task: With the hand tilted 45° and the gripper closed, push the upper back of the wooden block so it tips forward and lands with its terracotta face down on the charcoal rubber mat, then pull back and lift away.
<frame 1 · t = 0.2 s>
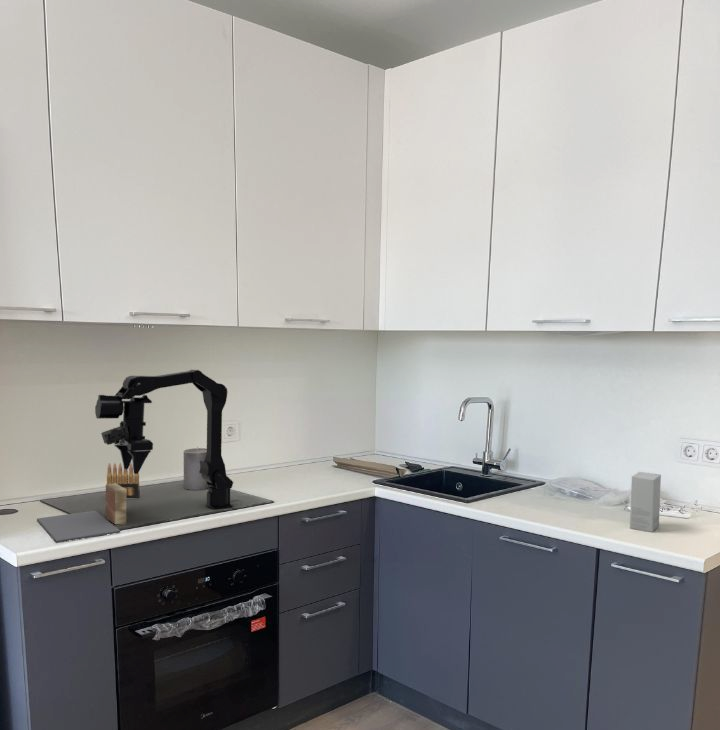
hand: (130, 471, 184), 14 cm above the worktop, tool pointing down, fingers open, 9 cm apart
ammunition clip: (122, 499, 210), on the worktop
rubber mat: (77, 526, 176), on the worktop
pillar candle: (196, 488, 228), on the worktop
wooden block: (115, 521, 182), on the worktop
skincare box: (645, 528, 182), on the worktop
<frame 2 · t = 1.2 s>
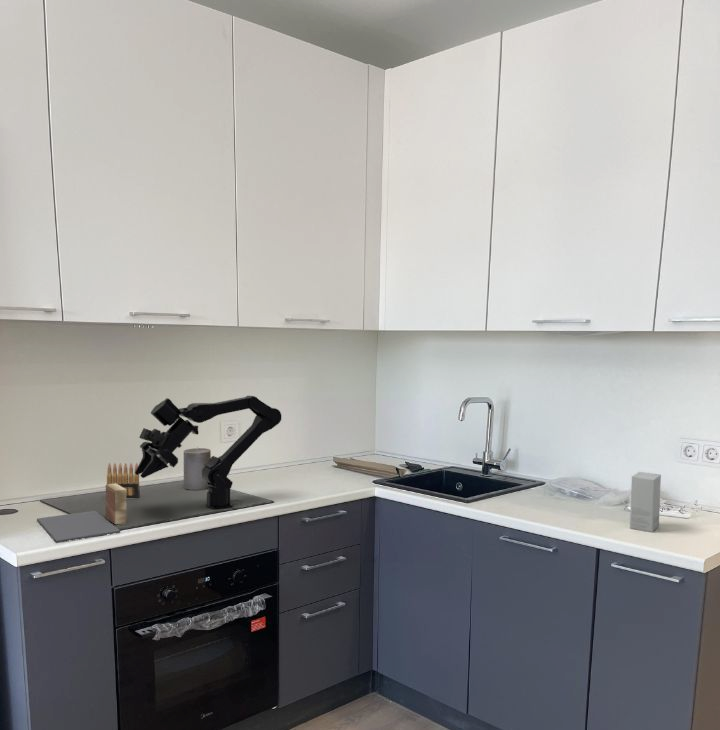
hand: (138, 475, 186), 13 cm above the worktop, tool tilted 45°, fingers open, 5 cm apart
nothing on the worktop moved.
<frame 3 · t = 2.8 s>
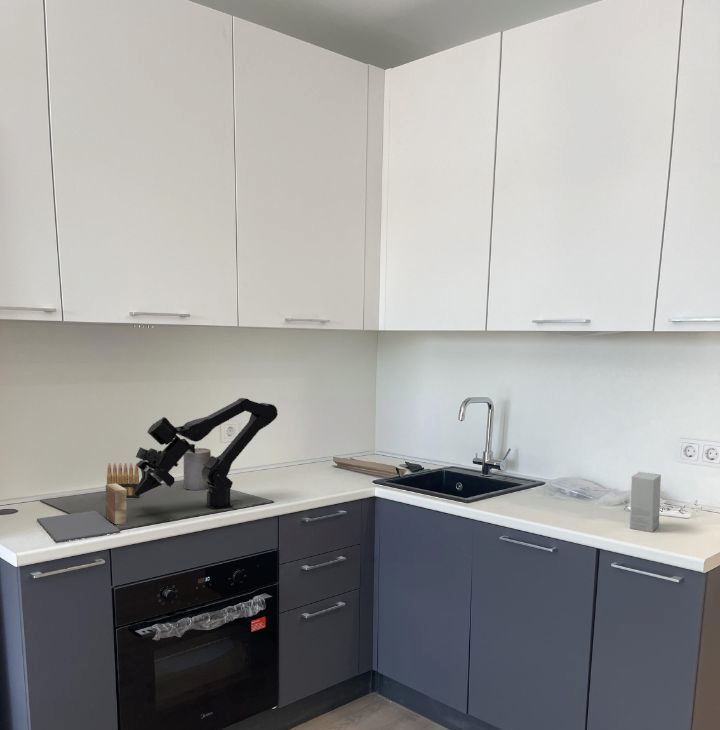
hand: (135, 495, 185), 7 cm above the worktop, tool tilted 45°, fingers closed
nothing on the worktop moved.
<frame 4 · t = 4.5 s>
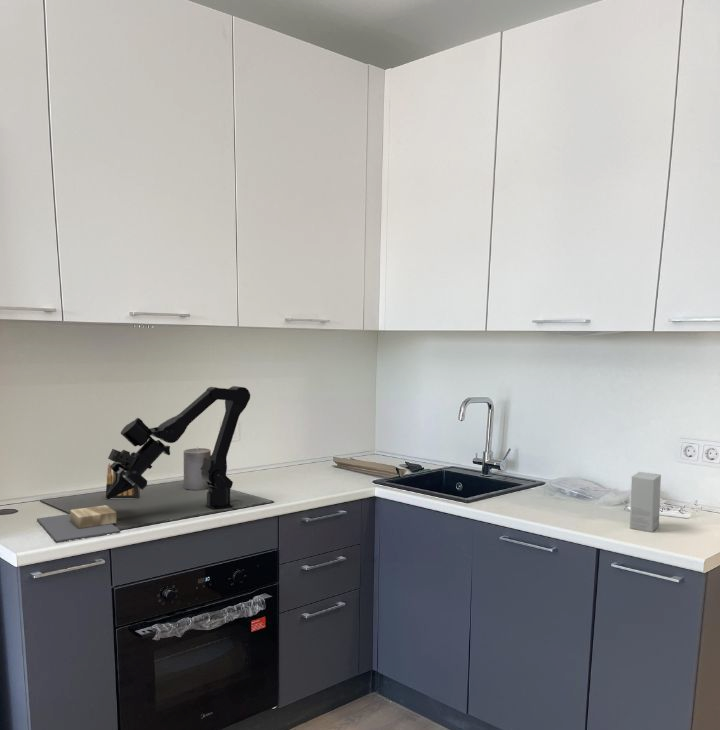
hand: (106, 497, 180), 7 cm above the worktop, tool tilted 45°, fingers closed
wooden block: (111, 513, 181), point 2 cm above the worktop, tilted 90°, touching rubber mat
everything else where it was.
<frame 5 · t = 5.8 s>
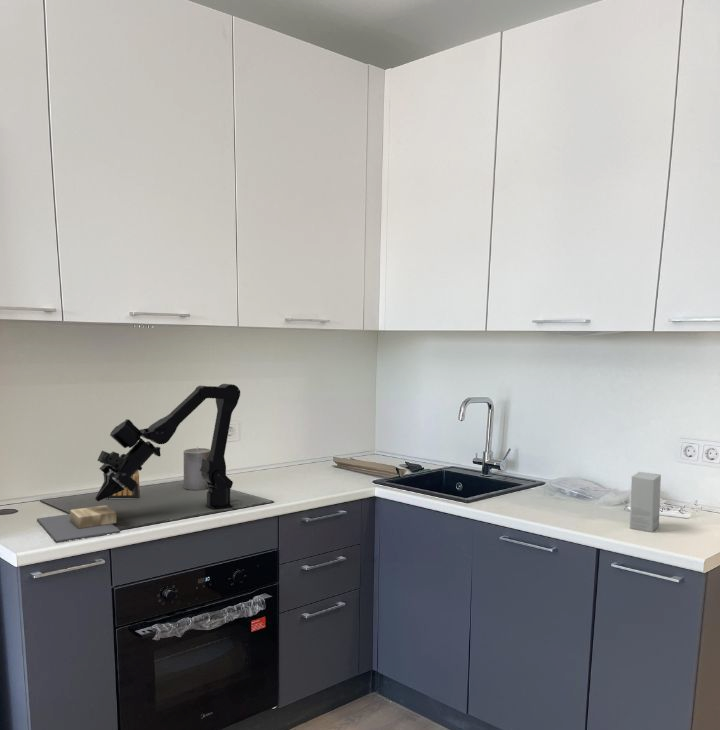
hand: (96, 500, 179), 7 cm above the worktop, tool tilted 45°, fingers closed
nothing on the worktop moved.
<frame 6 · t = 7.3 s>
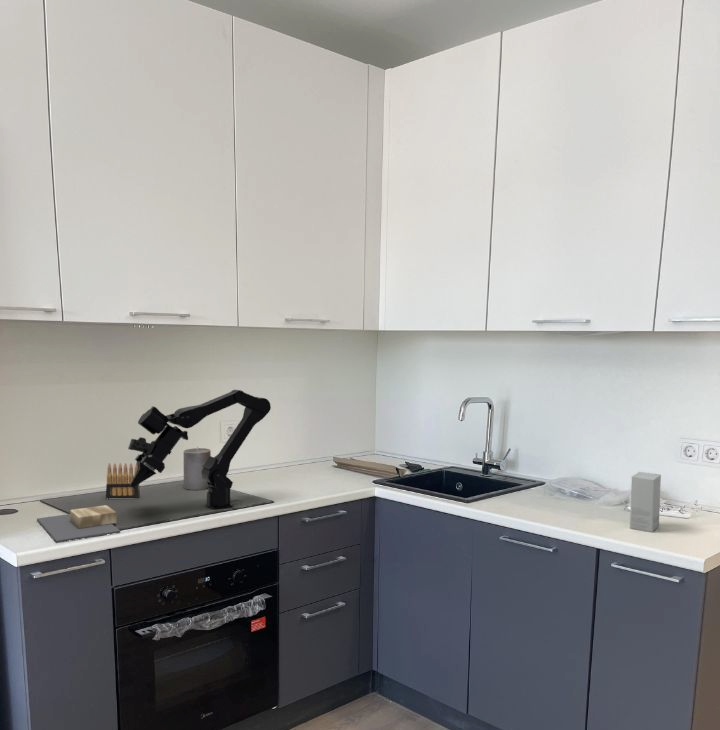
hand: (131, 486, 185), 9 cm above the worktop, tool tilted 40°, fingers closed
nothing on the worktop moved.
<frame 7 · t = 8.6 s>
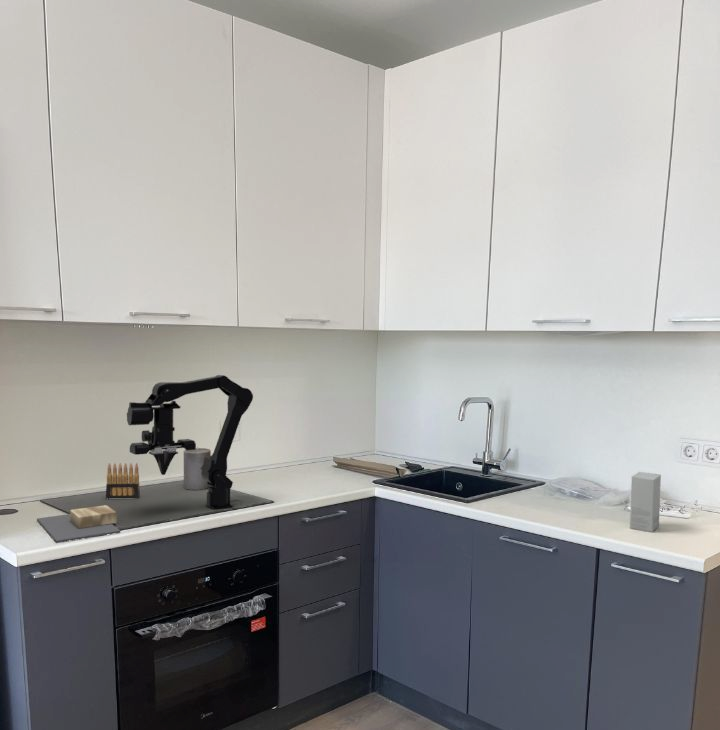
hand: (163, 474, 190), 12 cm above the worktop, tool pointing down, fingers closed
nothing on the worktop moved.
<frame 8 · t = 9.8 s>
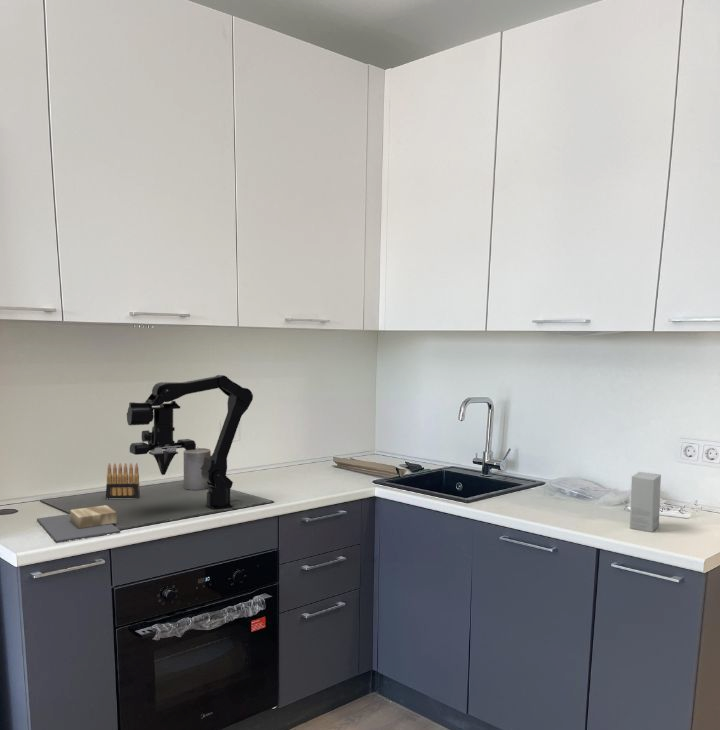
hand: (163, 474, 190), 12 cm above the worktop, tool pointing down, fingers closed
nothing on the worktop moved.
at the end: wooden block tilted 90°; wooden block inside the target area (1.7 cm from its centre), point 2.2 cm above the worktop; wooden block touching rubber mat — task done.
